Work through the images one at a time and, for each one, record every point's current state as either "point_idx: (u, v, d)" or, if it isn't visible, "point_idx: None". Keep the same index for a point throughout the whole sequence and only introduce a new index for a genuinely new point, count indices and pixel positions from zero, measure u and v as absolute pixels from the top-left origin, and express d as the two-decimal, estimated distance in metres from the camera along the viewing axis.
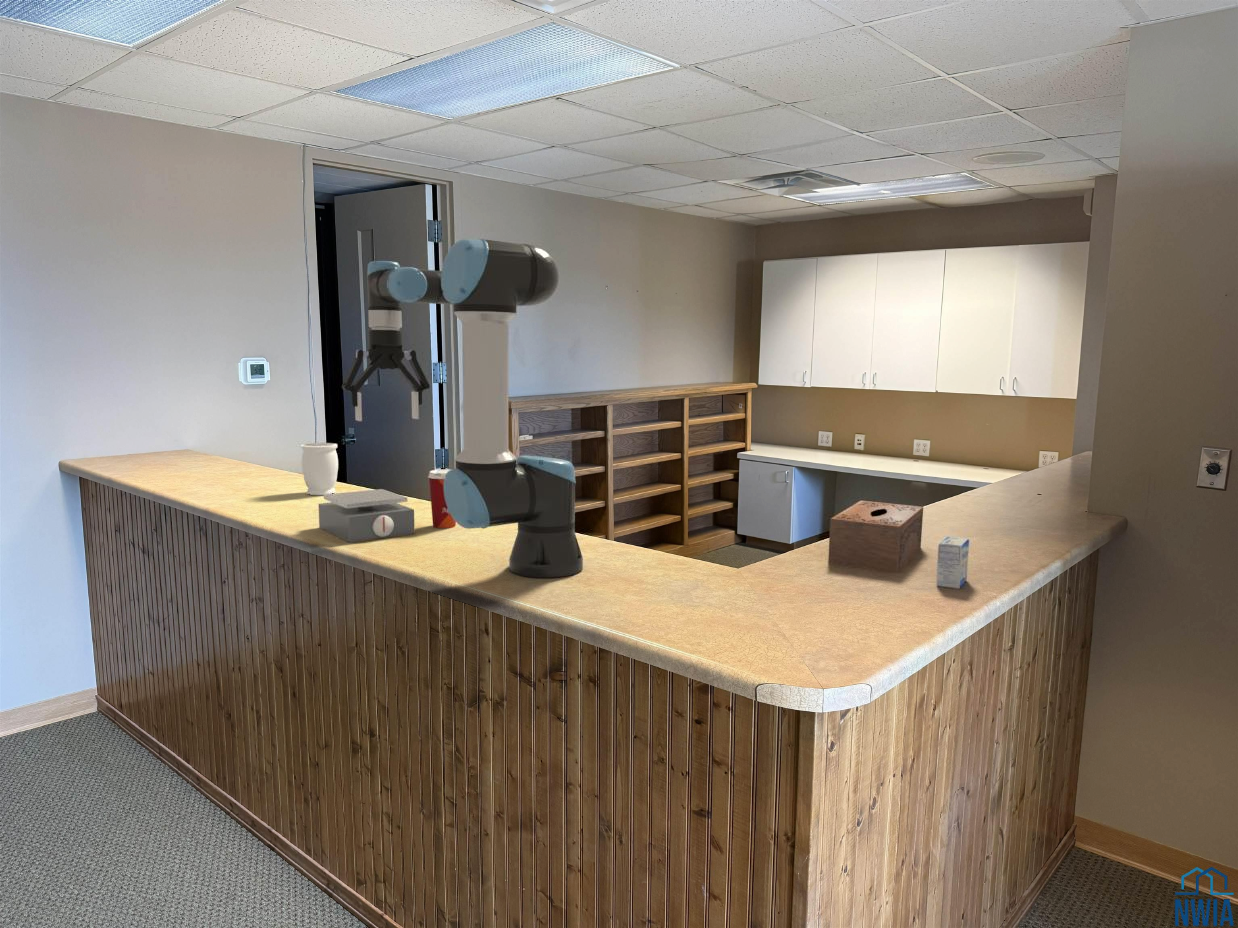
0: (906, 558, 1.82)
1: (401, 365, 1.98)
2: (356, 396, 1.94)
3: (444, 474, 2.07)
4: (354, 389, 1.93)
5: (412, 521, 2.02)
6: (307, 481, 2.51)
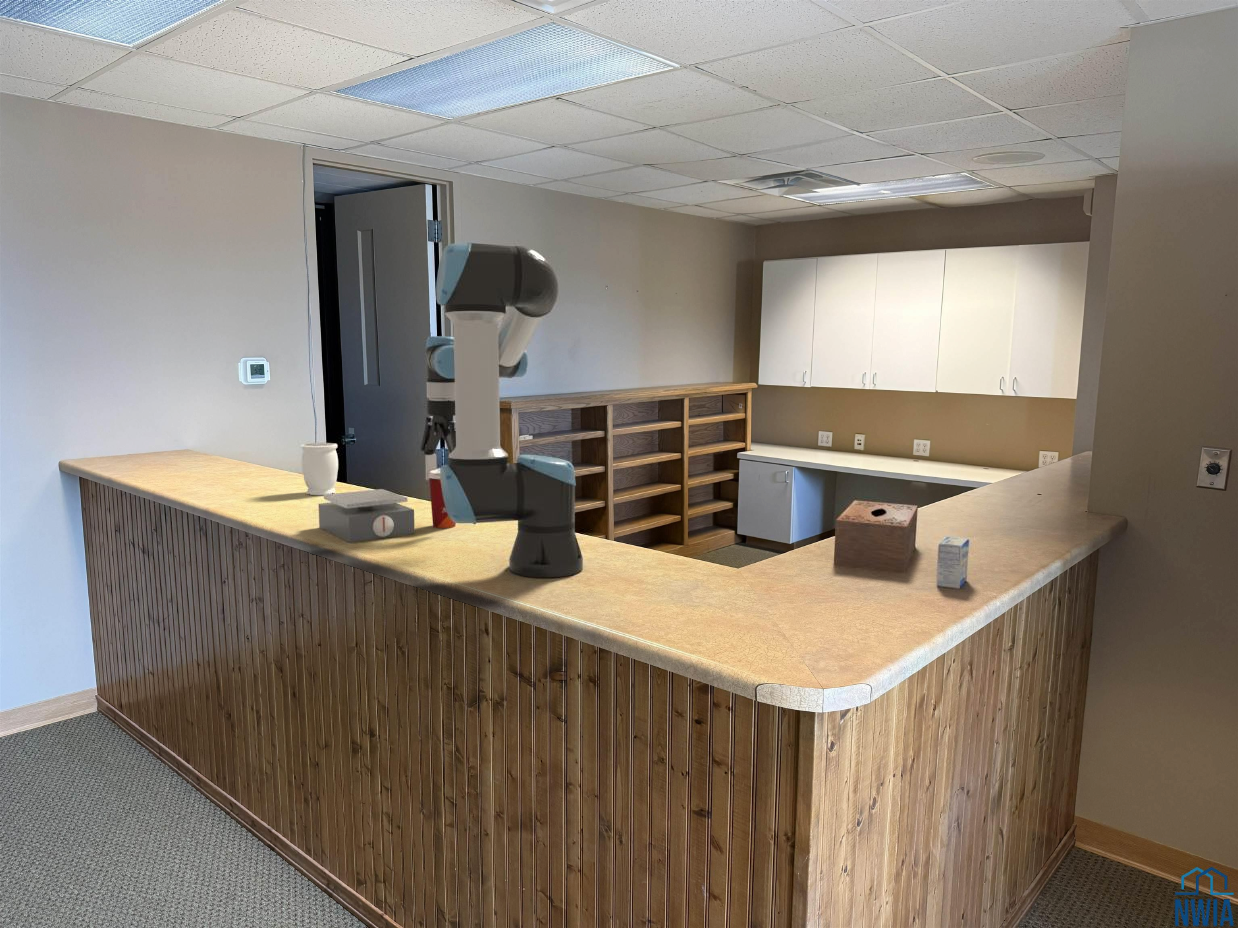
0: (908, 557, 1.82)
1: (442, 434, 2.05)
2: None
3: None
4: (424, 451, 2.15)
5: (412, 521, 2.02)
6: (307, 481, 2.51)
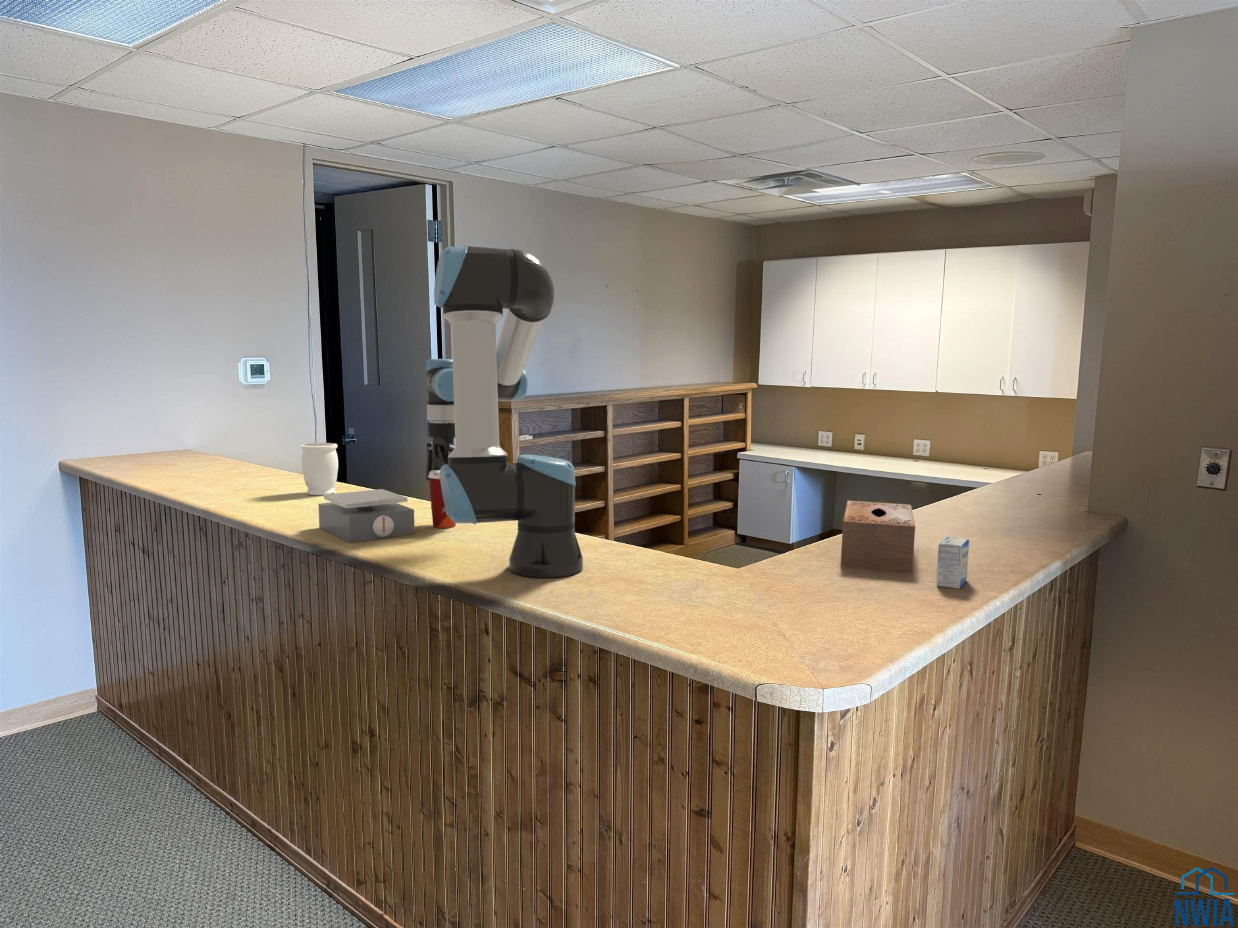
0: None
1: (441, 458, 2.07)
2: None
3: None
4: None
5: (412, 521, 2.02)
6: (307, 481, 2.51)
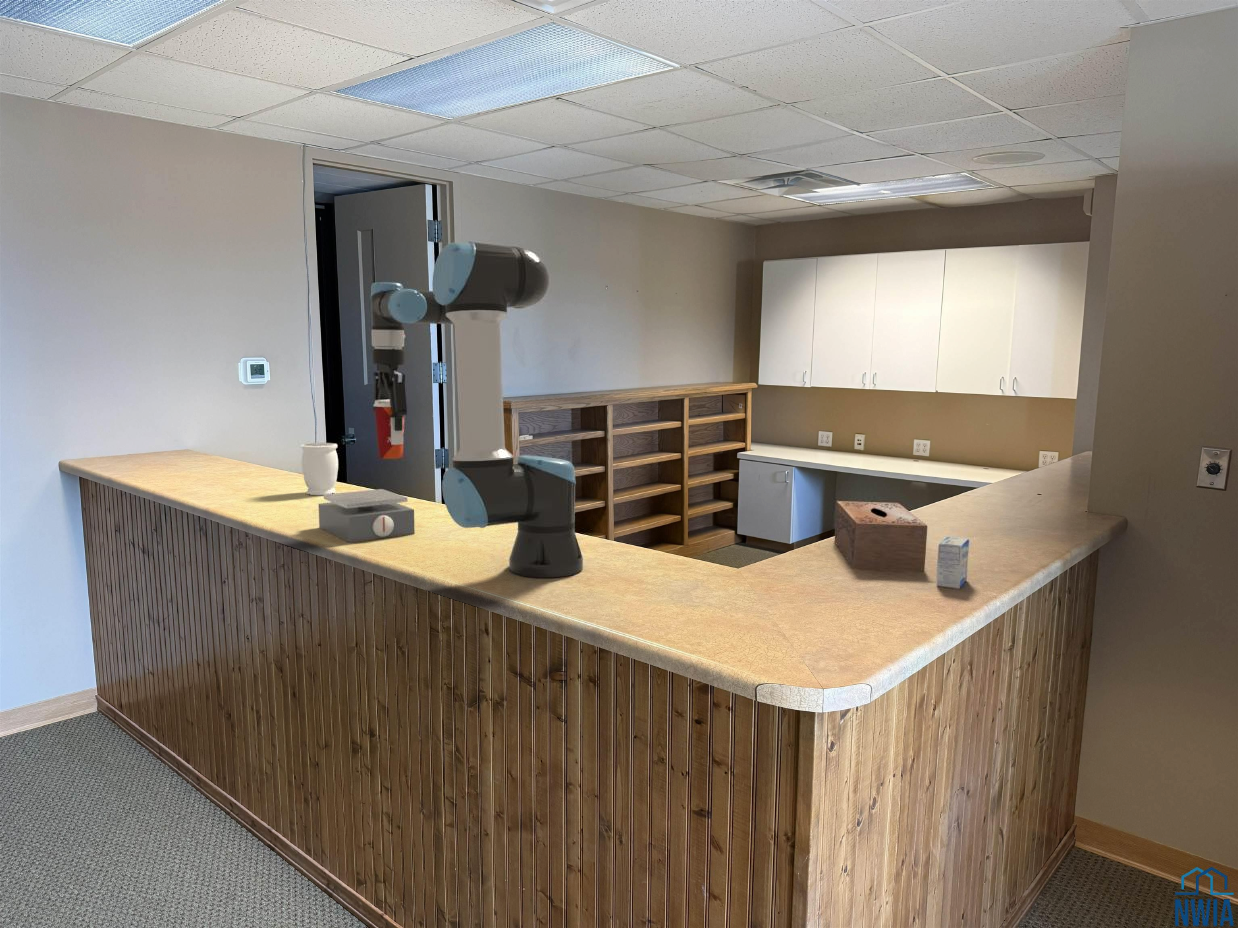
0: None
1: (386, 385, 2.00)
2: None
3: (389, 402, 2.00)
4: None
5: (412, 521, 2.02)
6: (307, 481, 2.51)
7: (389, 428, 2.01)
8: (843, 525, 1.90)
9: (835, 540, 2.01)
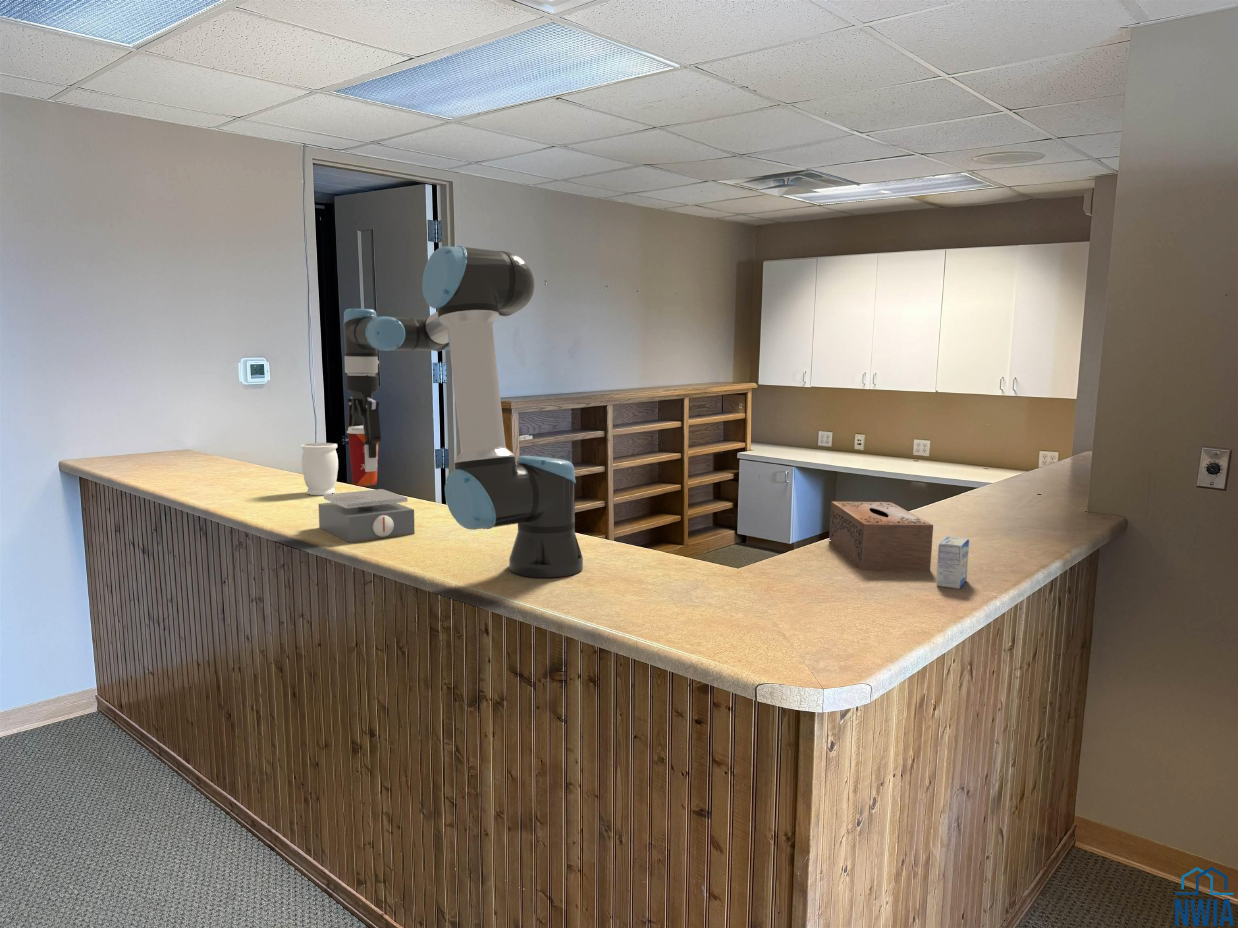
0: None
1: (359, 412, 1.99)
2: None
3: (362, 429, 1.99)
4: None
5: (412, 521, 2.02)
6: (307, 481, 2.51)
7: (363, 455, 2.00)
8: (843, 526, 1.90)
9: (830, 541, 2.00)
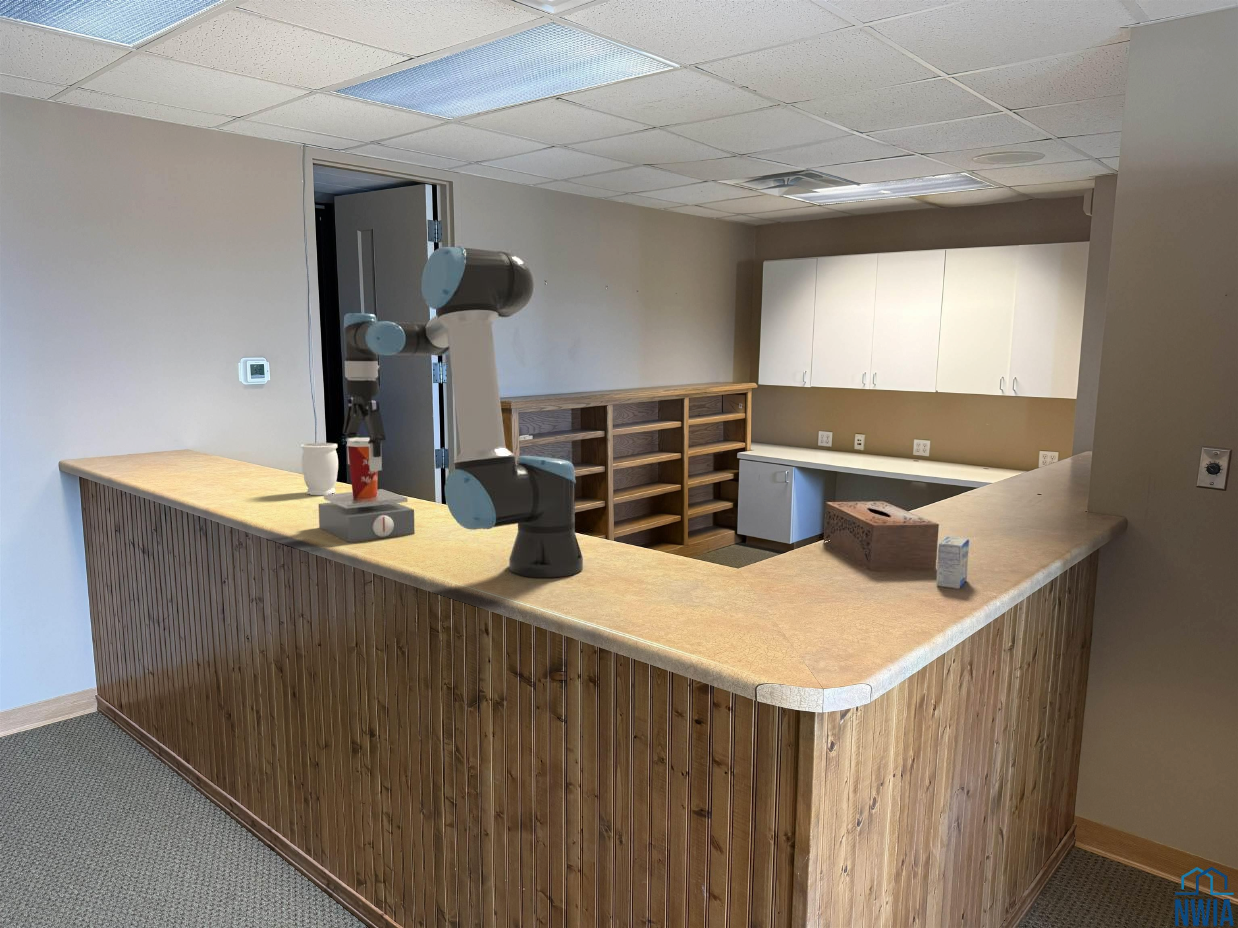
0: None
1: (361, 415, 1.98)
2: None
3: (362, 442, 1.99)
4: (346, 434, 2.08)
5: (412, 521, 2.02)
6: (307, 481, 2.51)
7: (363, 468, 2.00)
8: (843, 527, 1.89)
9: None
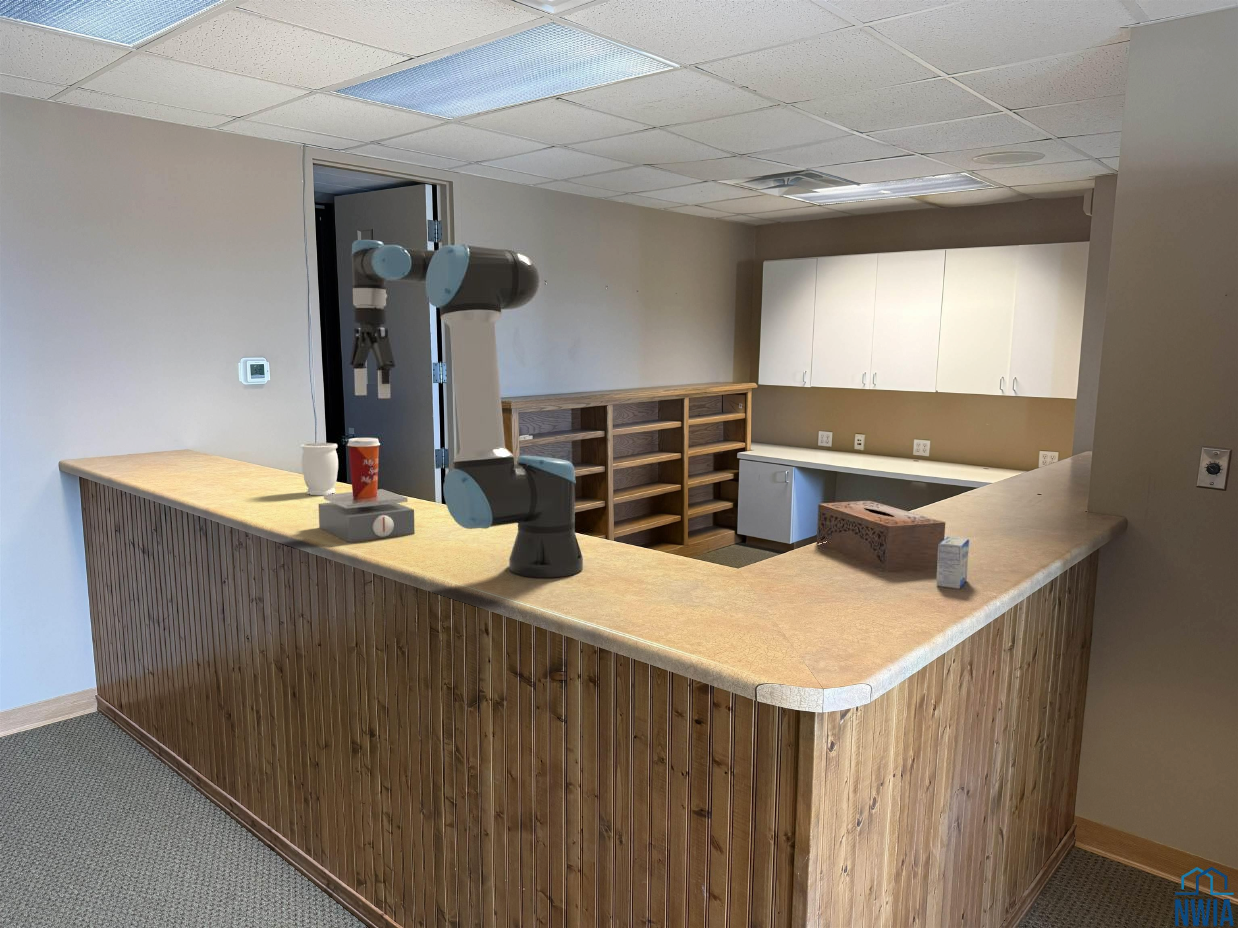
0: None
1: (369, 343, 1.98)
2: None
3: (363, 442, 1.99)
4: (353, 365, 2.07)
5: (412, 521, 2.02)
6: (307, 481, 2.51)
7: (363, 468, 2.00)
8: (845, 528, 1.87)
9: None
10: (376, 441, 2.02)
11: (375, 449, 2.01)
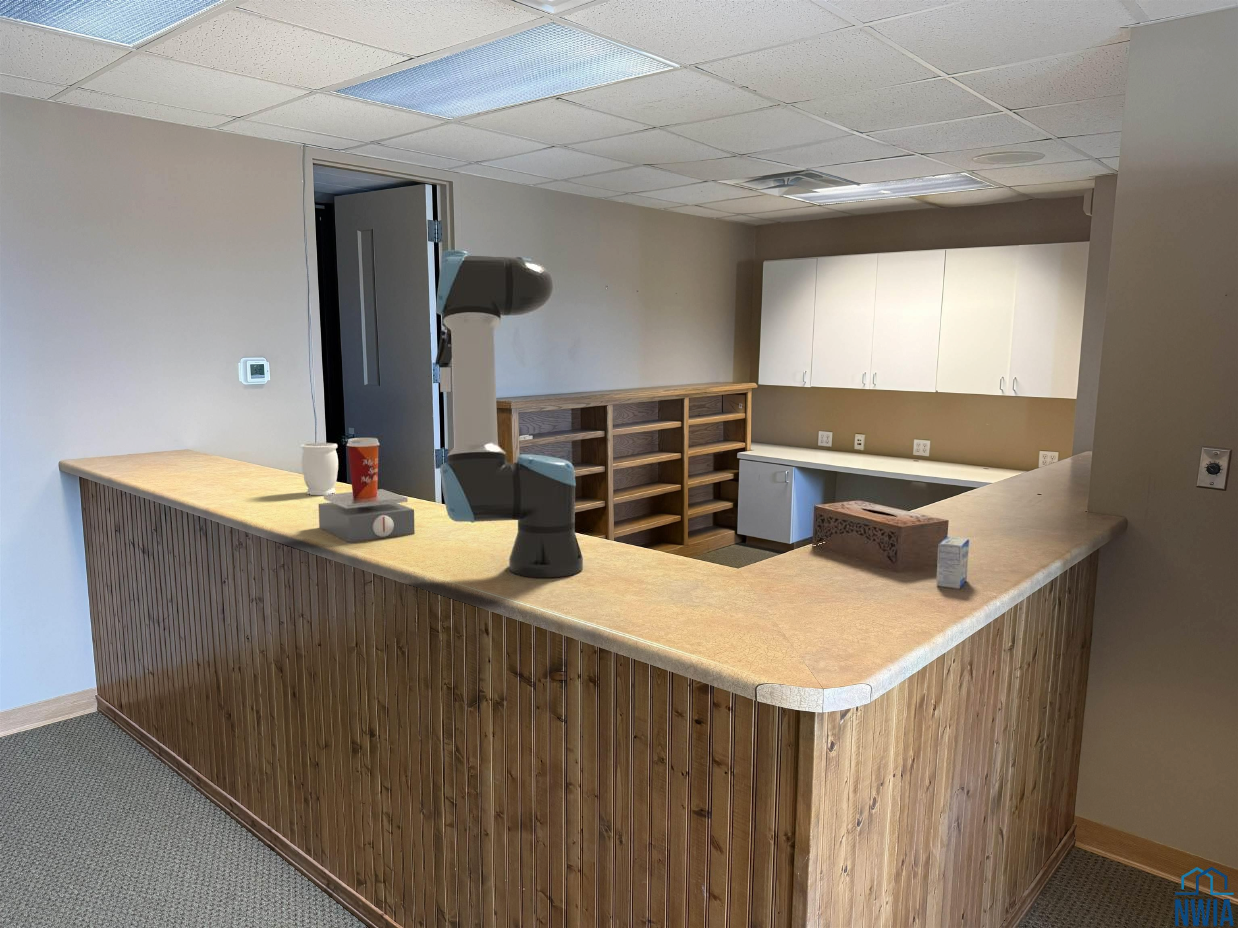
0: None
1: None
2: None
3: (362, 442, 1.99)
4: (439, 364, 2.26)
5: (412, 521, 2.02)
6: (307, 481, 2.51)
7: (363, 468, 2.00)
8: (847, 529, 1.86)
9: (816, 545, 1.95)
10: (375, 441, 2.02)
11: (375, 449, 2.01)
